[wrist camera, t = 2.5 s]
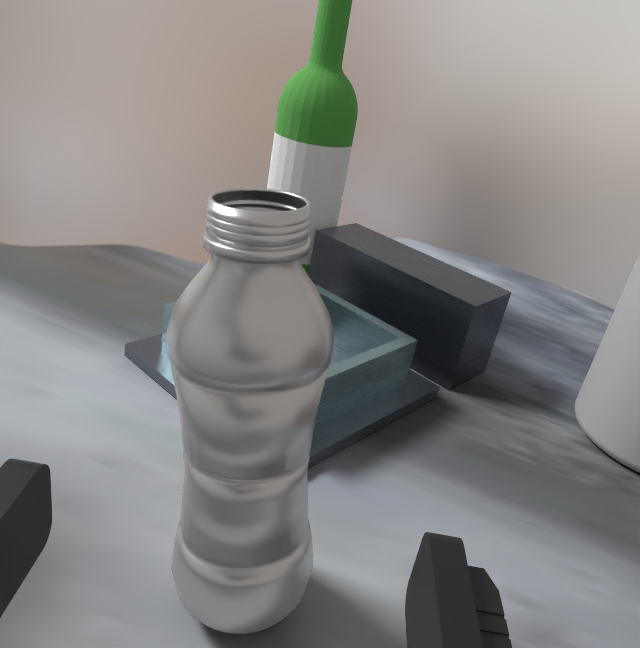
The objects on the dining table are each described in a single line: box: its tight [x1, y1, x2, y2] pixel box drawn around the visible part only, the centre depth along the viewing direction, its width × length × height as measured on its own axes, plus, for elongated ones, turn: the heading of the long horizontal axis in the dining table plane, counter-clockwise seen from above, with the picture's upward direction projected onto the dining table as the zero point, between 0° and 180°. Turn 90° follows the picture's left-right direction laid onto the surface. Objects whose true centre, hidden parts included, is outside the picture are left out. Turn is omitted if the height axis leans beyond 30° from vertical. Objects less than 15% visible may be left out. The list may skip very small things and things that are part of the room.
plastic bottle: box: [166, 188, 334, 634], centre depth 26 cm, size 6×7×20 cm
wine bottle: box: [267, 0, 358, 275], centre depth 60 cm, size 8×8×30 cm
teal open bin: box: [125, 223, 511, 468], centre depth 51 cm, size 26×18×8 cm
